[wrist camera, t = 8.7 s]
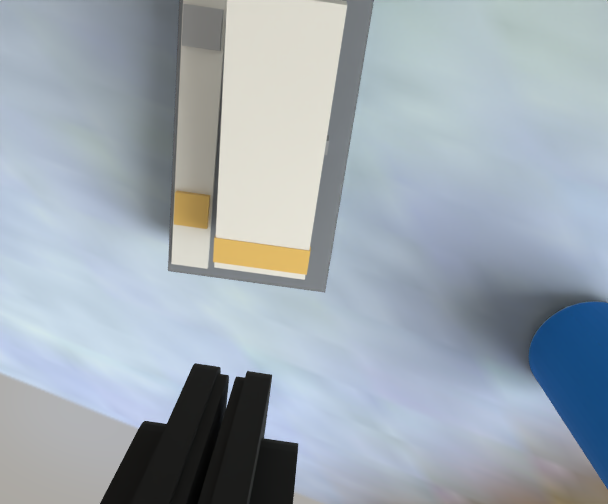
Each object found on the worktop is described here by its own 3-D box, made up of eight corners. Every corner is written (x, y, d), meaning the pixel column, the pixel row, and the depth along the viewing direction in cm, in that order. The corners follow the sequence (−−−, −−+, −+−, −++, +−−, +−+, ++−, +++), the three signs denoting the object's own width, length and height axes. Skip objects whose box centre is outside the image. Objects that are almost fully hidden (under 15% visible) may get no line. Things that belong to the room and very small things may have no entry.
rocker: (347, 1, 19) (348, 5, 17) (308, 259, 24) (305, 280, 23) (235, -16, 19) (225, -13, 17) (220, 246, 24) (212, 267, 23)
